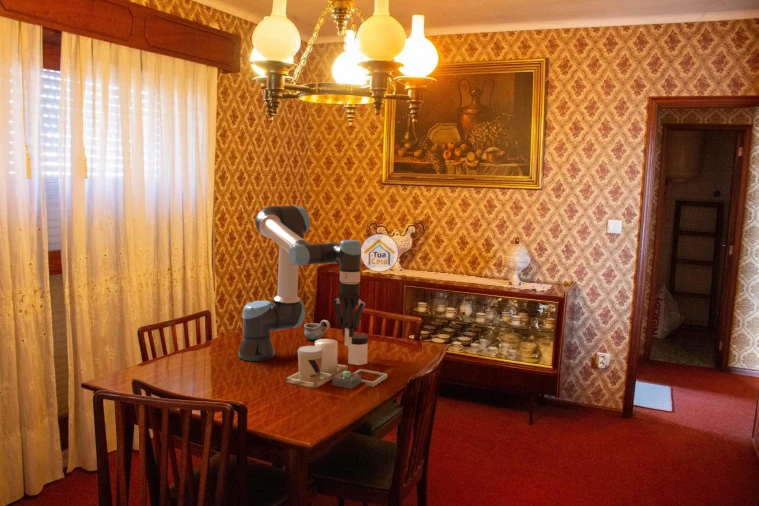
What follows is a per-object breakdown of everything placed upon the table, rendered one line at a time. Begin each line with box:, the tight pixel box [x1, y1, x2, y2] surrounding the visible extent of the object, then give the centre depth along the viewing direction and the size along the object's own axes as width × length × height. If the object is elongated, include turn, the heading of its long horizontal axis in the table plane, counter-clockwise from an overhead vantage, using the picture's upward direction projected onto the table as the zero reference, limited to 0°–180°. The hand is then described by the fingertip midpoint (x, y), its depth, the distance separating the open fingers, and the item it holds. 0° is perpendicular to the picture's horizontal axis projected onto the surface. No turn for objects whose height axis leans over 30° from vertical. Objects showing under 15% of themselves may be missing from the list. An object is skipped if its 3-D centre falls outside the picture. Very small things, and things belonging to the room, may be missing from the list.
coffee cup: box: [297, 345, 323, 383], centre depth 228 cm, size 9×9×12 cm
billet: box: [314, 338, 339, 374], centre depth 239 cm, size 9×9×12 cm
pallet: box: [285, 363, 349, 392], centre depth 235 cm, size 13×25×2 cm, turn 155°
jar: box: [347, 333, 369, 366], centre depth 253 cm, size 9×8×12 cm
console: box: [331, 371, 362, 390], centre depth 226 cm, size 8×8×4 cm
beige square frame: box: [353, 368, 388, 387], centre depth 235 cm, size 12×12×2 cm
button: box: [343, 370, 352, 378], centre depth 226 cm, size 3×3×4 cm
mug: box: [303, 319, 331, 341], centre depth 289 cm, size 10×12×10 cm
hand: (348, 345), depth 225 cm, fingers closed
